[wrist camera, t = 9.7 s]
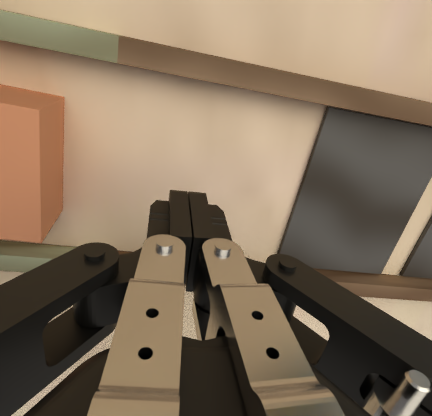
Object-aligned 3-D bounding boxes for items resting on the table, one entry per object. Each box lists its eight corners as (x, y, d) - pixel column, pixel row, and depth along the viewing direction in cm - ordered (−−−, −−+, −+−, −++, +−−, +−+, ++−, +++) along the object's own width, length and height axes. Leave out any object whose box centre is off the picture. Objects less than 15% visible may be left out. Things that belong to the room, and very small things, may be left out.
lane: (-254, -46, 13) (-406, -77, 10) (609, 141, 23) (689, 159, 19) (-150, 243, 20) (-221, 287, 16) (495, 295, 29) (539, 330, 26)
